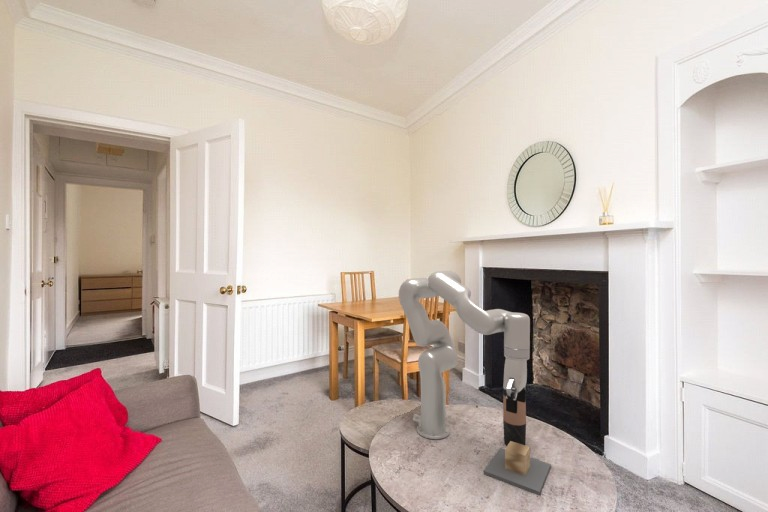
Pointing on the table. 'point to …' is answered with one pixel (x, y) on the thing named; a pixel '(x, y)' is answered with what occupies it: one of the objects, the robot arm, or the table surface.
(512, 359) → the robot arm
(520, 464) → the oak block
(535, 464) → the charcoal mat
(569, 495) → the table surface
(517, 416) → the travel mug
